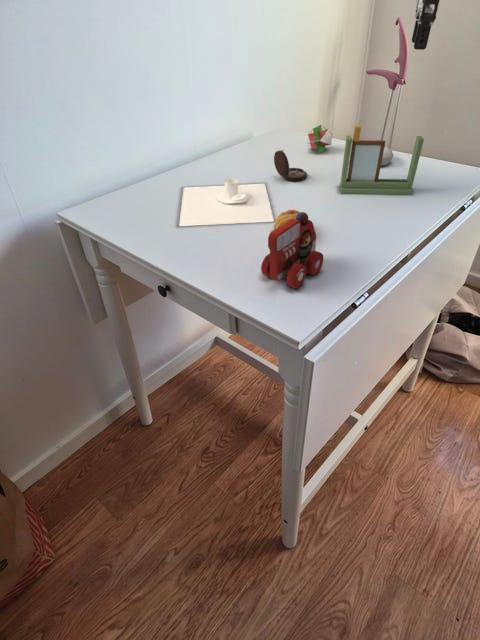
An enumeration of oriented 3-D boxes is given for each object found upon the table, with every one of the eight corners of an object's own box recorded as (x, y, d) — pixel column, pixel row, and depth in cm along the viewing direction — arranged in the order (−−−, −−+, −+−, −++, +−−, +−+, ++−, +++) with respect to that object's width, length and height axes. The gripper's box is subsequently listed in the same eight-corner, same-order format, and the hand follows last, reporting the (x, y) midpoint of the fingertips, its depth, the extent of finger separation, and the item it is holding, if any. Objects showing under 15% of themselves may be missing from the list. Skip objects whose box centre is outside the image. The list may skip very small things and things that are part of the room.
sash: (376, 184, 99) (387, 125, 90) (377, 186, 98) (388, 127, 90) (346, 183, 100) (354, 125, 91) (346, 185, 99) (354, 127, 90)
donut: (386, 155, 117) (350, 155, 117) (389, 142, 115) (352, 142, 115) (395, 168, 110) (356, 168, 110) (398, 155, 107) (358, 154, 108)
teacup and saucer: (251, 206, 95) (250, 188, 92) (215, 207, 95) (214, 190, 92) (248, 190, 101) (248, 173, 99) (215, 191, 101) (214, 174, 99)
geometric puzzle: (296, 142, 120) (313, 121, 114) (310, 136, 124) (326, 115, 117) (312, 162, 120) (329, 142, 113) (325, 155, 124) (342, 135, 117)
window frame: (408, 187, 100) (420, 134, 92) (411, 194, 97) (424, 140, 89) (339, 186, 102) (346, 134, 94) (340, 193, 99) (347, 140, 91)
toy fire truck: (328, 265, 76) (335, 211, 69) (287, 297, 69) (290, 241, 62) (296, 252, 79) (300, 200, 73) (254, 282, 72) (254, 227, 66)
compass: (311, 178, 106) (314, 148, 101) (284, 185, 103) (285, 154, 98) (294, 168, 111) (296, 139, 107) (268, 174, 109) (268, 144, 104)
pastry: (314, 247, 80) (315, 229, 78) (279, 249, 80) (279, 231, 78) (304, 224, 88) (305, 206, 85) (272, 226, 87) (272, 209, 85)
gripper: (473, -70, 66) (442, 52, 76) (461, -66, 76) (435, 41, 87) (422, -69, 67) (398, 51, 78) (417, -65, 78) (397, 40, 88)
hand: (418, 45), depth 82 cm, fingers open, 8 cm apart
